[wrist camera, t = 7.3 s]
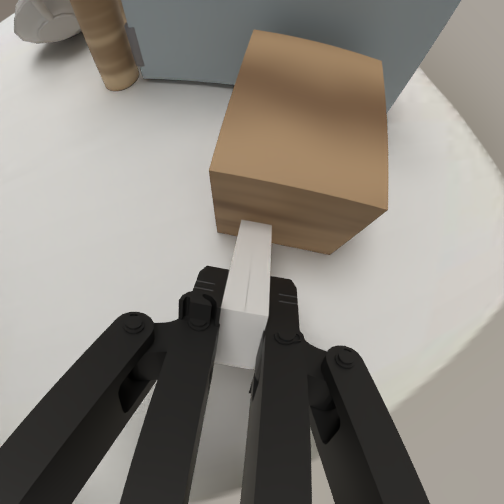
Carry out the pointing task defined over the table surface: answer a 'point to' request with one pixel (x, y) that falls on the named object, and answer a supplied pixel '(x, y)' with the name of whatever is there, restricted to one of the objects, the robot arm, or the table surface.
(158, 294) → the table surface
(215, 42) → the door
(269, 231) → the robot arm
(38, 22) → the headphones
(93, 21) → the brown long wooden part
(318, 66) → the walnut block
